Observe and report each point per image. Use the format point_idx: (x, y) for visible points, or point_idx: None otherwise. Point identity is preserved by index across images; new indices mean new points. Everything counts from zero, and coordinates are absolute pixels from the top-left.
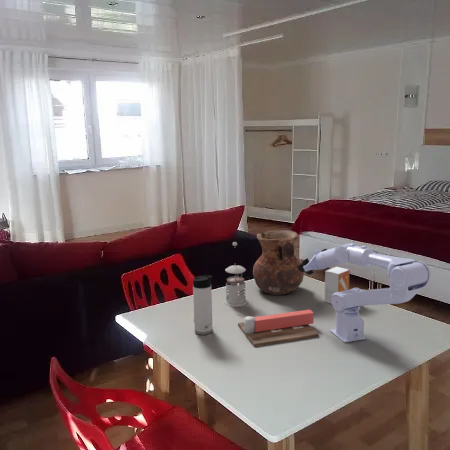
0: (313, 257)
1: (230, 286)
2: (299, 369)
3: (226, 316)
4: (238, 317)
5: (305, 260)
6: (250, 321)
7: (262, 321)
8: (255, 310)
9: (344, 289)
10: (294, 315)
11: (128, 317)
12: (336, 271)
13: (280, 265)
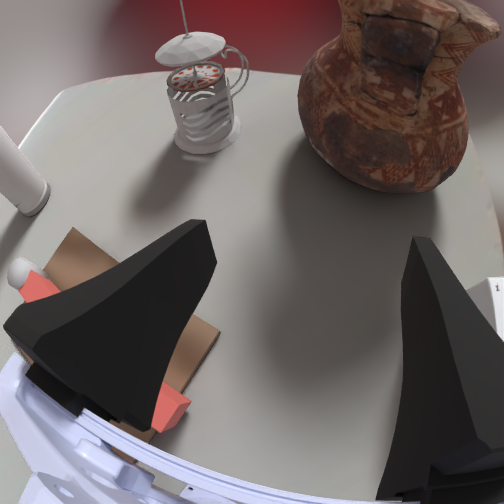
0: (28, 459)
1: (167, 92)
2: (5, 457)
3: (112, 174)
4: (119, 196)
5: (17, 342)
6: (9, 284)
7: None
8: (185, 195)
9: None
10: None
11: (60, 96)
12: None
13: (354, 93)
